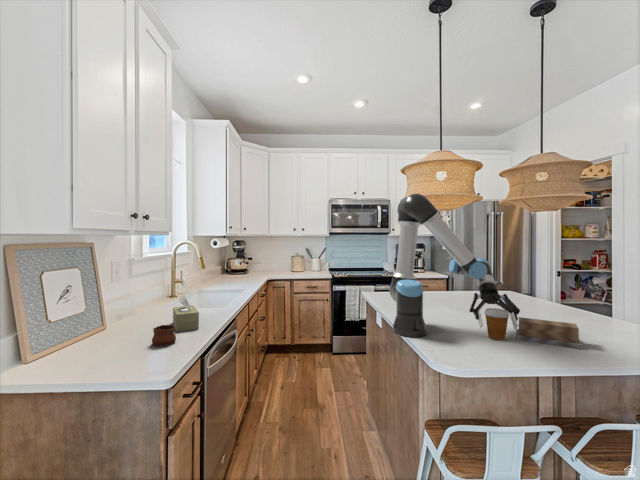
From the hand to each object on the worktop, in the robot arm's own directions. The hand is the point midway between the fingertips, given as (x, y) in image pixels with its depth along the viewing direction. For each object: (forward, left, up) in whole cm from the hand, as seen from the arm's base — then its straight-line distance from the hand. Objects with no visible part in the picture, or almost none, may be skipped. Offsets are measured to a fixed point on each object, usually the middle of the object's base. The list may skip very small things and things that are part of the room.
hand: (498, 326), depth 132 cm
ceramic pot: (-113, -83, -6) cm, 141 cm away
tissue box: (-130, -63, -6) cm, 145 cm away
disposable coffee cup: (-1, +1, -6) cm, 6 cm away
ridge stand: (+17, +10, -5) cm, 21 cm away
